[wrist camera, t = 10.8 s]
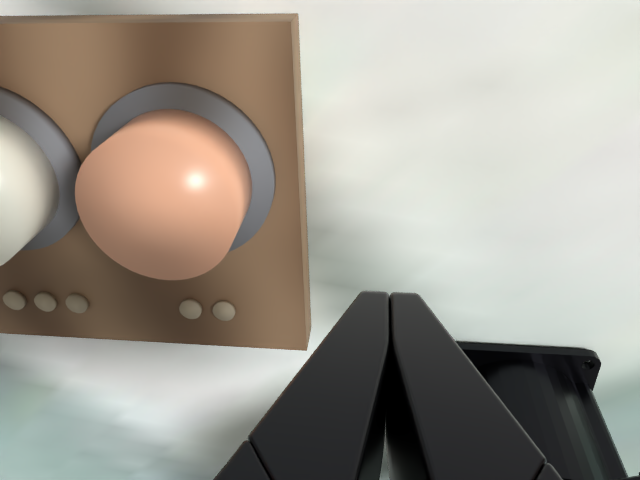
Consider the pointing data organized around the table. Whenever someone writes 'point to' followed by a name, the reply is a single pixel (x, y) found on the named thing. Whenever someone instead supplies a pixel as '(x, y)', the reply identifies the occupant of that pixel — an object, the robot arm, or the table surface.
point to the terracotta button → (165, 194)
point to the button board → (112, 114)
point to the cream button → (23, 189)
